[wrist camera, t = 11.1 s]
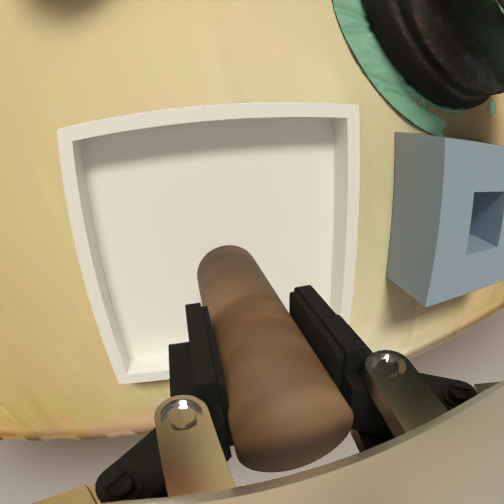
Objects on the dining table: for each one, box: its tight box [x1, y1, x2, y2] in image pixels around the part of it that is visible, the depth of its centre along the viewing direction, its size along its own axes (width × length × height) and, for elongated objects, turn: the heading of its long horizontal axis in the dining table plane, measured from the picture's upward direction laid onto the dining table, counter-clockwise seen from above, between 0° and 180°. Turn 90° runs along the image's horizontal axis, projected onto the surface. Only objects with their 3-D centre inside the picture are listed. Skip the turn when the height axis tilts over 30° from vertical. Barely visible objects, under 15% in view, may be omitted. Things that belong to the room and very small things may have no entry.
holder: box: [386, 132, 504, 307], centre depth 20 cm, size 11×11×5 cm
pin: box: [197, 245, 354, 472], centre depth 11 cm, size 3×3×10 cm
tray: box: [57, 102, 360, 384], centre depth 19 cm, size 16×16×2 cm
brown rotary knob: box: [333, 0, 504, 137], centre depth 13 cm, size 20×20×9 cm
